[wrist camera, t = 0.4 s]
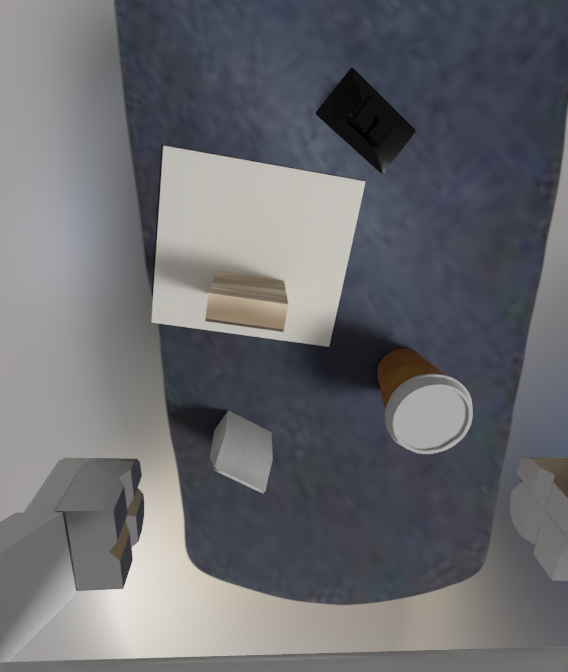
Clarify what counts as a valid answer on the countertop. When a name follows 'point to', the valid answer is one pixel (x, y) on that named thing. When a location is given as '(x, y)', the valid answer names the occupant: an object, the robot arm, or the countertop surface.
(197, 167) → the felt mat
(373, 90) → the black mounting plate
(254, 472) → the grey angular block
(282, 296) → the letter block
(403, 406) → the disposable coffee cup
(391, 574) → the countertop surface
